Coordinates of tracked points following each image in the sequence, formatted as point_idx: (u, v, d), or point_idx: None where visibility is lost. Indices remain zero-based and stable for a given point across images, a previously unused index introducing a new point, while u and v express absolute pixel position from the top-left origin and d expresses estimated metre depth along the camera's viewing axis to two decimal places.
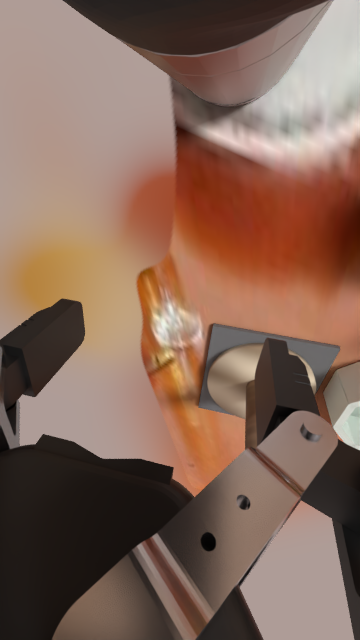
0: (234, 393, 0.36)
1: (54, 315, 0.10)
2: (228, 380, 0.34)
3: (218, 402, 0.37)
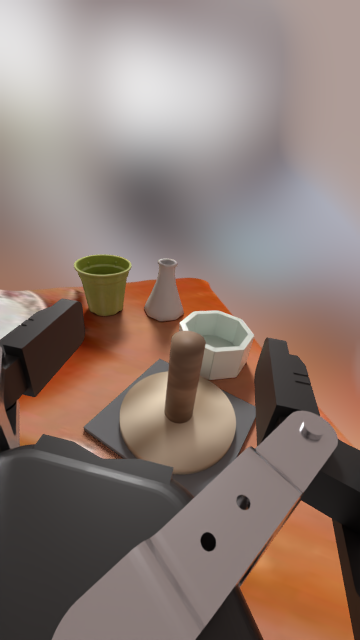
0: (179, 437, 0.28)
1: (54, 315, 0.10)
2: (155, 434, 0.28)
3: (191, 463, 0.26)
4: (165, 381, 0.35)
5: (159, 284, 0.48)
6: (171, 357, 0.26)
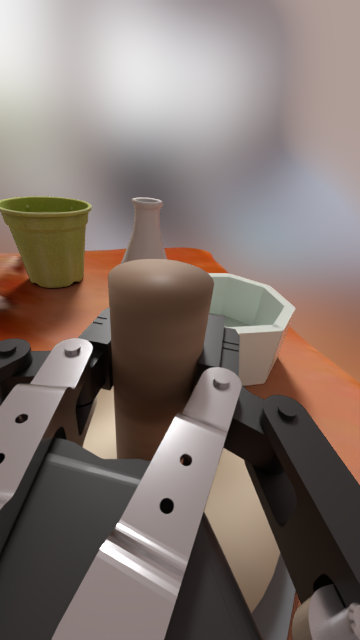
0: None
1: None
2: None
3: None
4: None
5: (135, 238, 0.30)
6: (111, 330, 0.09)
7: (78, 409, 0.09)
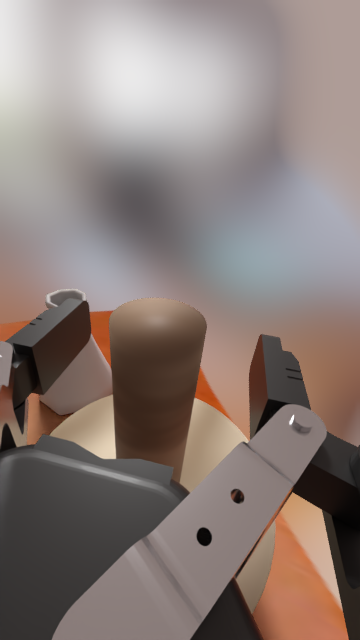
0: None
1: (62, 314, 0.10)
2: None
3: None
4: None
5: None
6: (112, 367, 0.09)
7: None
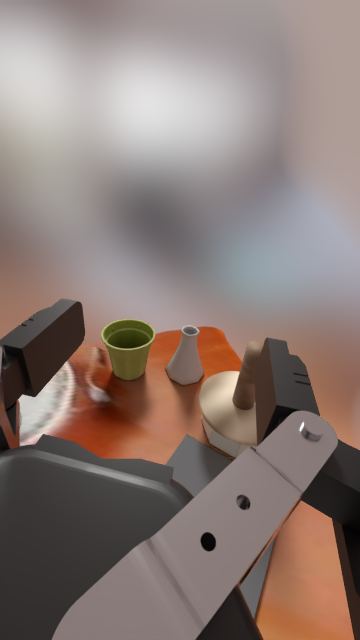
0: (248, 420, 0.38)
1: (54, 315, 0.10)
2: (230, 417, 0.38)
3: None
4: (227, 379, 0.44)
5: (182, 351, 0.49)
6: (246, 360, 0.36)
7: None
